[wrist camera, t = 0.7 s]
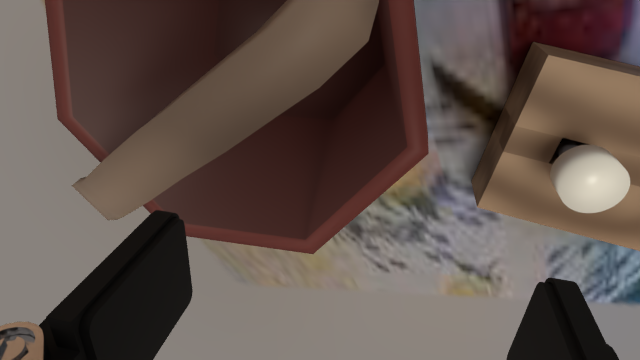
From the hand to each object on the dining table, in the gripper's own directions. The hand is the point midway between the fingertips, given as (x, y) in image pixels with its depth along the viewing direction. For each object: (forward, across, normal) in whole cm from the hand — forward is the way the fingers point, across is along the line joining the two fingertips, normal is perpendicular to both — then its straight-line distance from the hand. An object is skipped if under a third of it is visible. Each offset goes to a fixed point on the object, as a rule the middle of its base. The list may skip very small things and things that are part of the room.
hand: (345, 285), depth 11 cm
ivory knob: (+27, -15, +6) cm, 32 cm away
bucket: (+31, +8, 0) cm, 32 cm away
